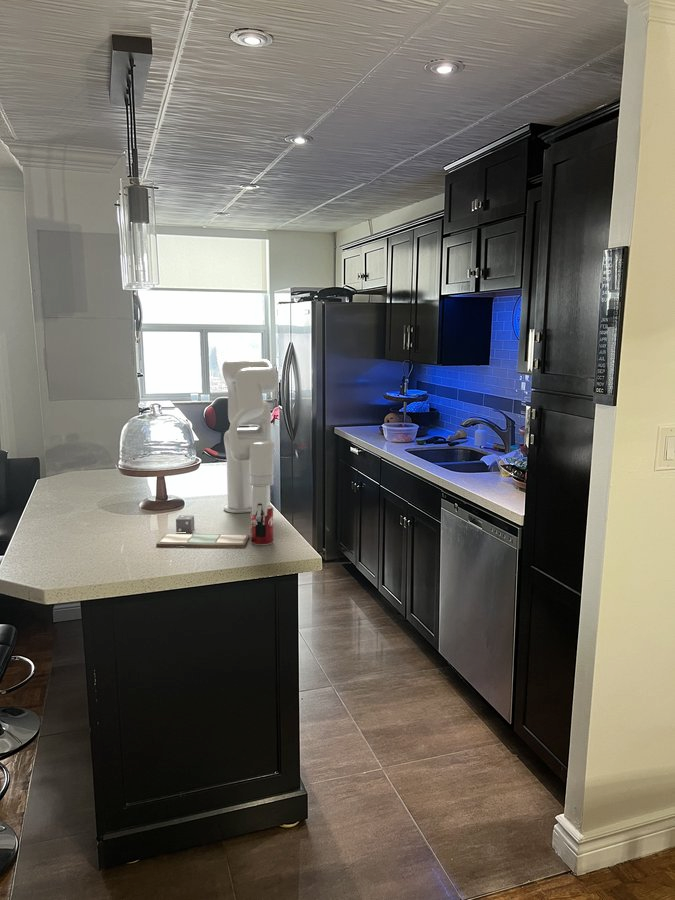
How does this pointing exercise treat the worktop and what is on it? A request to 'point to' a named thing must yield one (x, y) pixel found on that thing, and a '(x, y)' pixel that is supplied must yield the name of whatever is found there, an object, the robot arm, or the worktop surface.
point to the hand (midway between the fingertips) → (262, 532)
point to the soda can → (269, 529)
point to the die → (185, 523)
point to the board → (203, 540)
